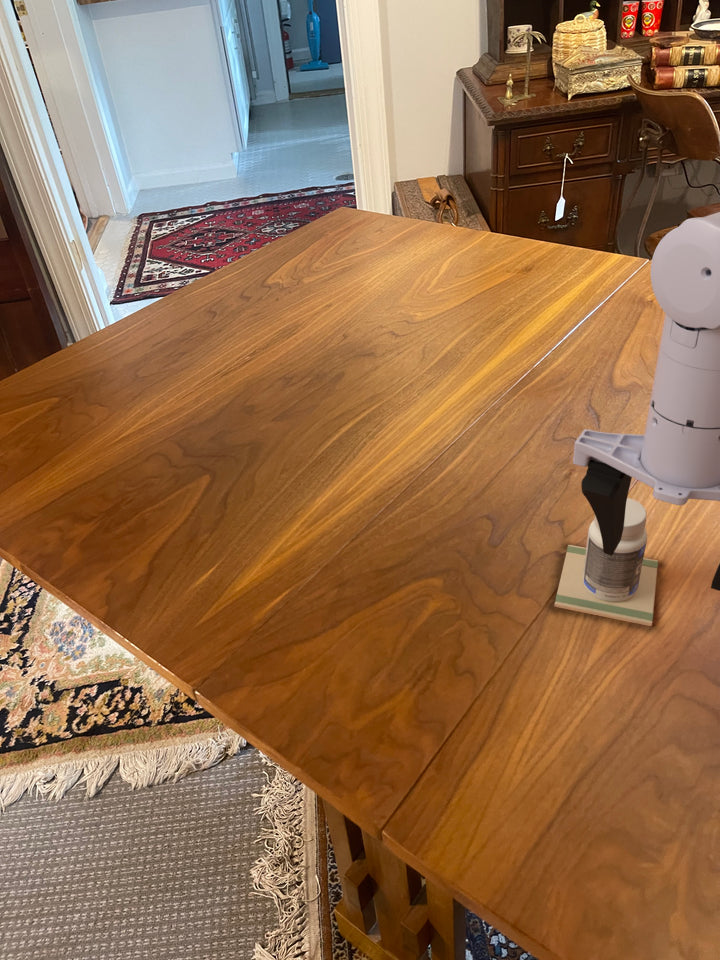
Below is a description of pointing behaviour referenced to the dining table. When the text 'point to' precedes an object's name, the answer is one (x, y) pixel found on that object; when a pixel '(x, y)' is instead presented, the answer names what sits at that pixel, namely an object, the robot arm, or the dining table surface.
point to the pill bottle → (616, 557)
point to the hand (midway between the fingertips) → (663, 563)
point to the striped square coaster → (581, 600)
